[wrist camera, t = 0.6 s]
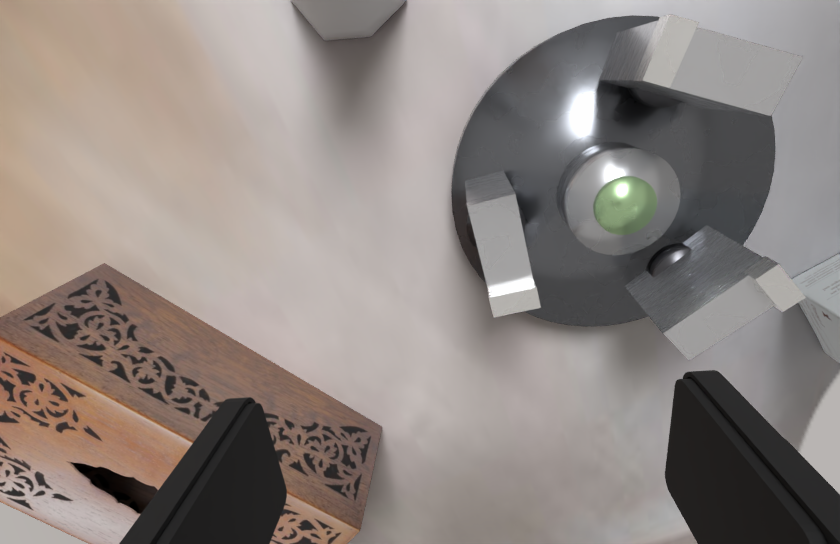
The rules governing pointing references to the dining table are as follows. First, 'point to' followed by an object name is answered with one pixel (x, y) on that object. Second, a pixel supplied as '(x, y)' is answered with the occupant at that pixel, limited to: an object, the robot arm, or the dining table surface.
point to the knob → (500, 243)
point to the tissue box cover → (156, 414)
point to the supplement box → (823, 303)
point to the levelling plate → (588, 115)
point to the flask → (347, 16)
